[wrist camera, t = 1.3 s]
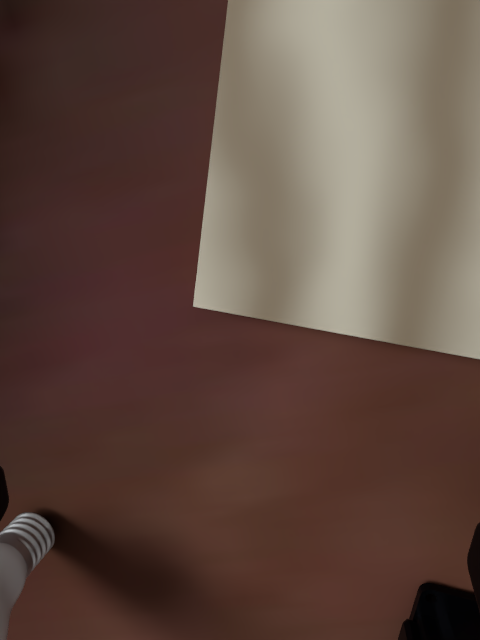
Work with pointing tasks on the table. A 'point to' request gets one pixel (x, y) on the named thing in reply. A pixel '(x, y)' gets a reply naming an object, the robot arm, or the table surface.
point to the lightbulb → (20, 558)
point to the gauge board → (348, 170)
